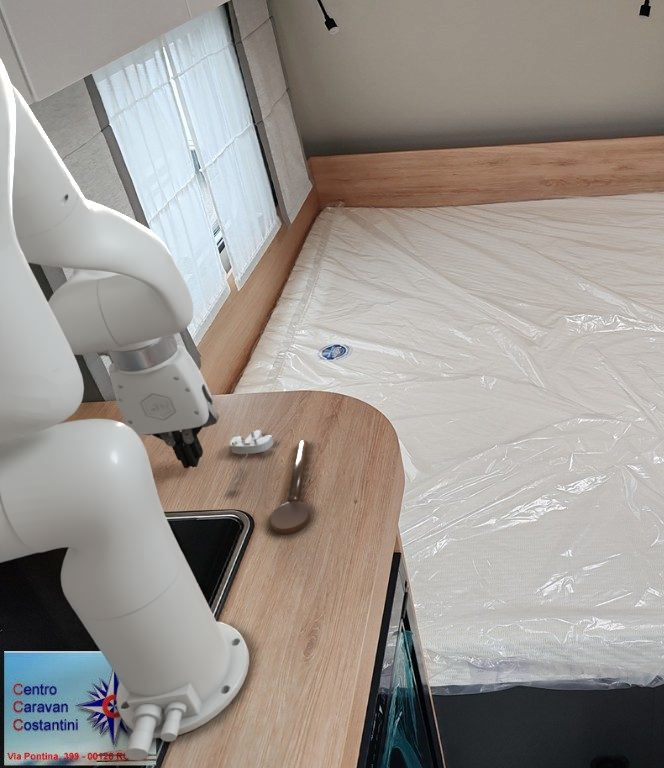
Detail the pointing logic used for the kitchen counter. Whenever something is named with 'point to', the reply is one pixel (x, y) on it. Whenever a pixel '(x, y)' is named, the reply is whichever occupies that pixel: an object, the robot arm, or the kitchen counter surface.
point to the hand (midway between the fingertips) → (193, 460)
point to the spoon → (293, 499)
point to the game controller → (251, 445)
